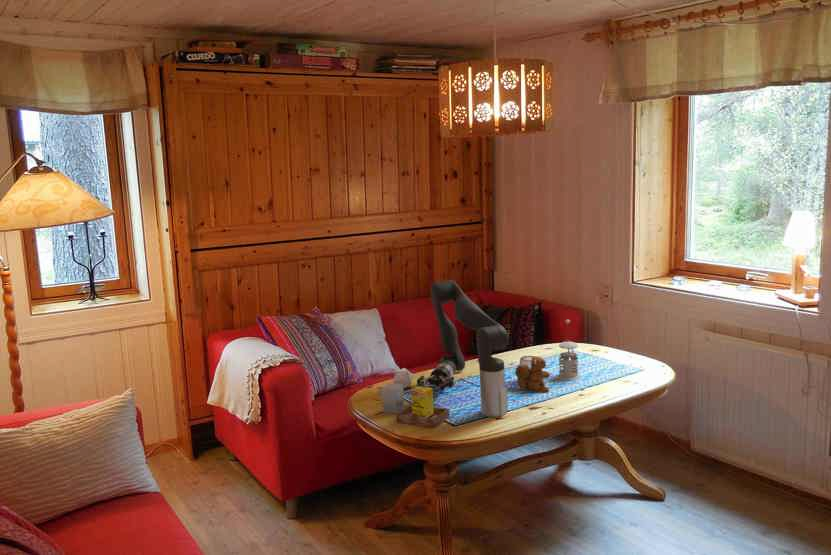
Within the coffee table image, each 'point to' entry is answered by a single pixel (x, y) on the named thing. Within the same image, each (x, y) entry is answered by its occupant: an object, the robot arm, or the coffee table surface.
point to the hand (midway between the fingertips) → (430, 387)
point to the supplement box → (422, 402)
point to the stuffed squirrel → (532, 375)
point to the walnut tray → (434, 421)
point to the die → (403, 378)
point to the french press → (568, 366)
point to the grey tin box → (392, 398)
